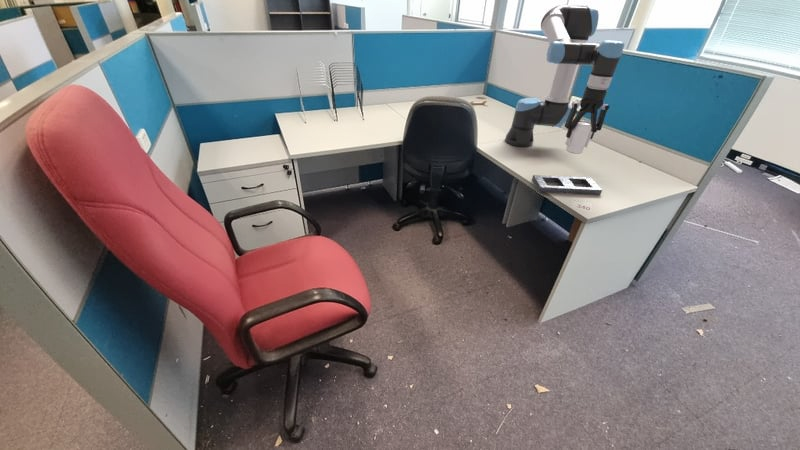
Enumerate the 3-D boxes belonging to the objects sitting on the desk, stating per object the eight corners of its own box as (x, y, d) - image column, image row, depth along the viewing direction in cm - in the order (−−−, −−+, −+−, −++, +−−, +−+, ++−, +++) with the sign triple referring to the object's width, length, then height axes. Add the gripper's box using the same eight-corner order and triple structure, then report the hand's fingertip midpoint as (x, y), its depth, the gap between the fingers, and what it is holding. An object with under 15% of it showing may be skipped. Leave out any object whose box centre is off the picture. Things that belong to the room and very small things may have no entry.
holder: (531, 179, 150) (533, 175, 148) (588, 182, 149) (591, 177, 148) (539, 192, 141) (540, 187, 139) (600, 195, 141) (602, 189, 139)
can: (578, 155, 135) (589, 126, 128) (563, 150, 139) (573, 122, 132) (584, 151, 139) (595, 123, 132) (569, 147, 143) (578, 119, 136)
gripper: (574, 88, 122) (555, 147, 135) (628, 91, 121) (603, 150, 134) (567, 83, 128) (549, 141, 141) (618, 86, 127) (595, 143, 141)
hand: (576, 145), depth 138 cm, fingers closed on can, 6 cm apart
